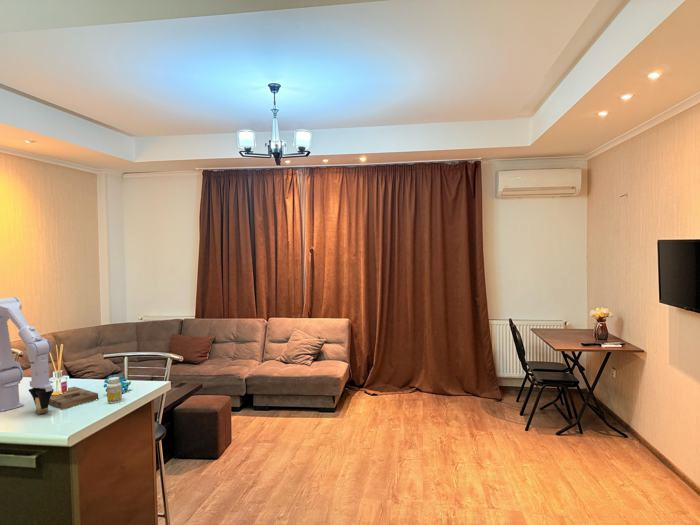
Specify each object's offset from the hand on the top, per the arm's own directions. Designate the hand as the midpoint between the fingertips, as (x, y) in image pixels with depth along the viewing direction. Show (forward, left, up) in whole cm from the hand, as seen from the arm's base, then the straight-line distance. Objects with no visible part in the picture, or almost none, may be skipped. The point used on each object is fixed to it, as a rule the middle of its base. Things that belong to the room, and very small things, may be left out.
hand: (42, 407), depth 184 cm
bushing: (0, 0, -2) cm, 2 cm away
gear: (+2, +29, -3) cm, 29 cm away
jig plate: (-7, +13, -2) cm, 15 cm away
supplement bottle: (+12, +22, -2) cm, 25 cm away
